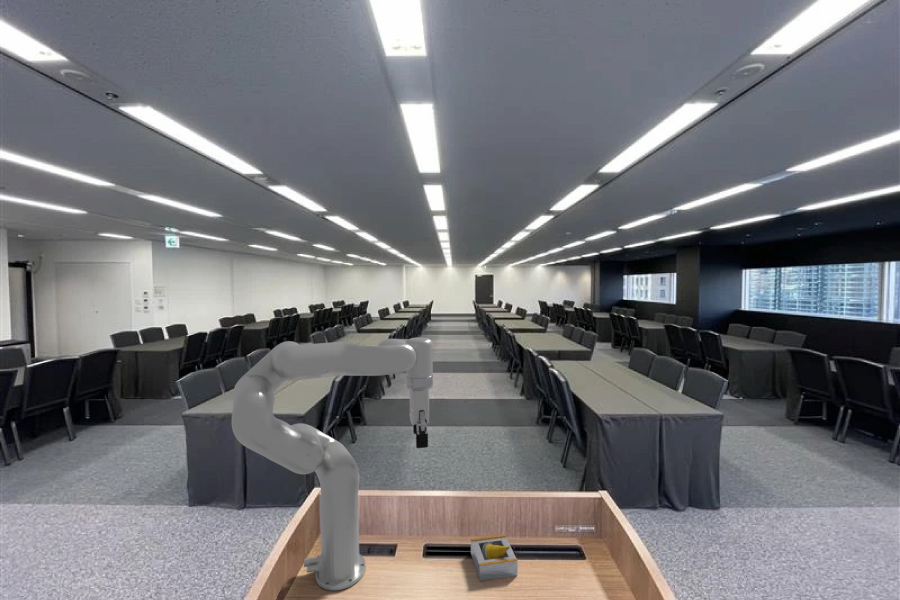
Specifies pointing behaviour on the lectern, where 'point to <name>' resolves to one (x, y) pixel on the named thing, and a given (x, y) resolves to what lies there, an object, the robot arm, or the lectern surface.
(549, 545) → the lectern surface
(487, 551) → the drill bit
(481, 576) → the block
